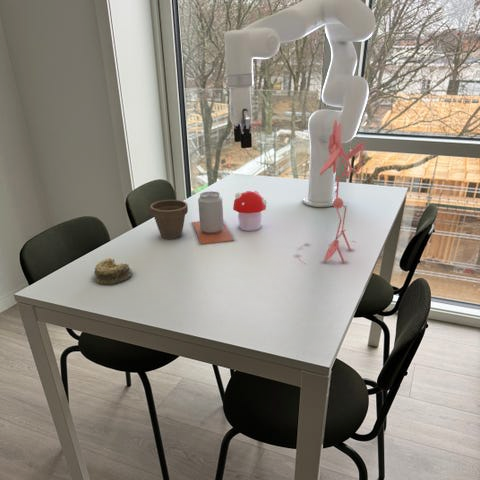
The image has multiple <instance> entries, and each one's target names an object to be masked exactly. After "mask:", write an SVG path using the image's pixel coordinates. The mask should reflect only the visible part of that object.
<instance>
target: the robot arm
mask: <svg viewBox="0 0 480 480" xmlns="http://www.w3.org/2000/svg"><path fill="white" fill-rule="evenodd" d="M376 22H377V21H376V16H375V13H374V11H373V10H372V9H371V7H369V6H368V5H367V4H366V3H364V2H363V1H362V0H301V1H298V2H297V3H295V4H293V5H291V6H289V7H287V8H284V9H281V10H279V11H278V12H275V13H273V14H270V15H267V16H264V17H263V18H259V19H257V20H255V21H253V22H252V23H250V24H248V25H246V26H245V27H243V28H241V29H232V30H227V31H226V32H224V33H225V34H224V39H223V40H224V55H225V72H226V88H227V89H229V121H230V122H231V124H232V125H233V140H234V143H240V148H241V149H251V148H252V147H253V140H252V139H253V137H252V127H251V124H253V109H252V107H253V106H252V92H251V88H253V87H254V66H253V65H254V60H255V59H256V60H266V59H270V58H273V57H274V56H275V55H277V53H278V52H279V50H280V47H281V44H284V43H291V42H294V41H299V40H300V39H302V38H304V37H306V36H308V35H309V34H312V33H313V32H314V31H316V30H318V29H319V28H321V27H323V26H324V31H325V35H326V38H327V40H328V43H329V47H330V51H331V57H330V63H329V67H328V71H327V74H326V77H325V79H324V80H325V81H324V85H323V87H322V91H321V92H322V93H321V100H322V103H324V104H325V105H327V106H330V107H334V108H335V107H336V108H341V110H335V109H328V108H327V109H325V108H324V109H318V110H316V111H314V112H313V113H312V114H311V115H310V116H309V119H308V121H307V122H308V124H307V128H308V137H309V162H308V163H309V165H308V166H309V167H308V186H307V188H308V189H307V190H308V191H307V196H305V197H304V198H303V203H304V204H305V205H306V206H309V207H314V208H329V207H334V206H333V201H334V200H335V199H336V196H335V193H336V189H337V186H336V176H337V175H336V174H337V171H336V172H335V173H333V166H332V167H331V168H330V169H329V168H328V169H327V170H326V171H325V172H324V173H323V174H322V175H320V172H321V169H322V167H323V166H324V164H325V162H326V161H327V160H328V158H329V157H330V153H329V148H328V145H329V144H328V143H329V137H330V134H332V133H333V125H334V121H335V120H337V126H338V125H339V124H340V123H341V137H340V139H341V141H342V144H346V143H349V142H351V141H352V140H353V139H354V138H355V137H356V135H357V132H358V129H359V127H360V125H361V120H362V117H363V114H364V111H365V109H366V106H367V102H368V100H369V99H368V98H369V91H370V89H369V84H368V81H367V80H366V79H365V77H363V76H360V75H355V72H356V69H357V64H358V54H357V51H356V48H355V45H354V43H355V42H365V41H367V40H368V39H369V38H371V37H372V35H374V32H375V30H376V25H377V23H376ZM338 191H339V188H338Z"/></svg>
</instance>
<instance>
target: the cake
mask: <svg viewBox="0 0 480 480" xmlns="http://www.w3.org/2000/svg"><path fill="white" fill-rule="evenodd" d="M93 274H94V282H95V283H97V284H99V285H116V284H118V283H121V282H124V281H126V280H127V279H129V278H130V277H132V275H133V270H132V269H131V268H130V266H129V264H128V263H126V262H124V263H123V262H121V263H119V264H117V263H116V262H115V258H110V257H109V258H106V259H102V260H101V261H100V262H97V264H96V265H95V267H94V271H93Z"/></svg>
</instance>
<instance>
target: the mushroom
mask: <svg viewBox="0 0 480 480" xmlns="http://www.w3.org/2000/svg"><path fill="white" fill-rule="evenodd" d="M234 198H235V199H234V200H233V206H232V210H233V211H235V212H237V213H238V215H237V217H238V223H239V228H240V229H241V230H243V231H251V232H253V231H257V230H259V229H260V228H261V225H262V220H263V214H262V212H264V211H266V210H267V204H268V201H267V199H265V198H264V197H263V196H262V195H261V194H260V193H259V191H258V190H247V191H246V190H245V191H244V192H236V193H235V195H234Z"/></svg>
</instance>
